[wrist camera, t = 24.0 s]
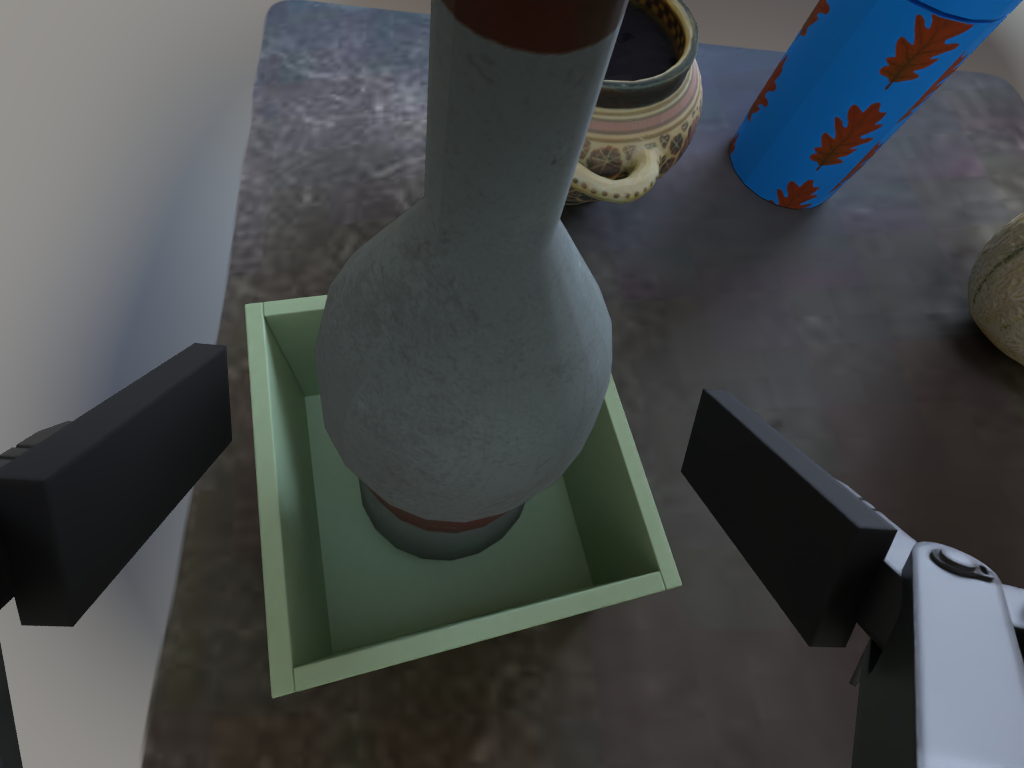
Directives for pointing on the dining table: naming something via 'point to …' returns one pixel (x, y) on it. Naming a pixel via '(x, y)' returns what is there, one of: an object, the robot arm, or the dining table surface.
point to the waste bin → (407, 578)
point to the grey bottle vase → (477, 288)
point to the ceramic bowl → (642, 105)
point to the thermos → (852, 90)
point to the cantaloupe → (1001, 289)
